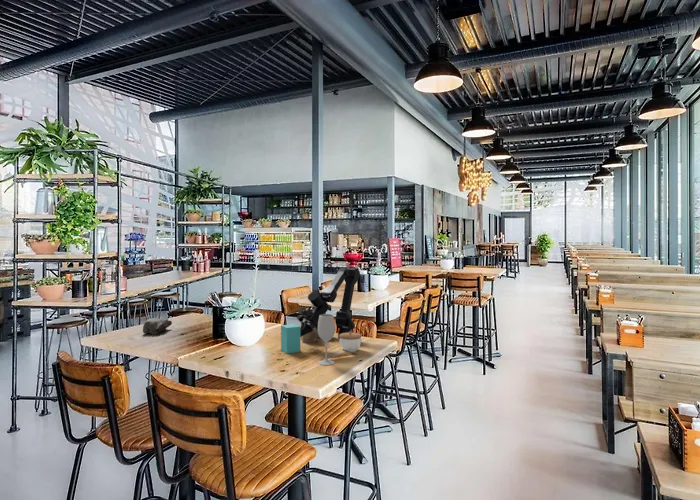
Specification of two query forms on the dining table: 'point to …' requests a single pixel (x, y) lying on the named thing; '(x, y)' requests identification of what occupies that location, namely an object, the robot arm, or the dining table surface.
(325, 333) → the wineglass
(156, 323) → the rock
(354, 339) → the lidded jar
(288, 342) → the teal block
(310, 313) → the robot arm
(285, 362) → the dining table surface
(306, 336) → the walnut block
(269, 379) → the dining table surface
